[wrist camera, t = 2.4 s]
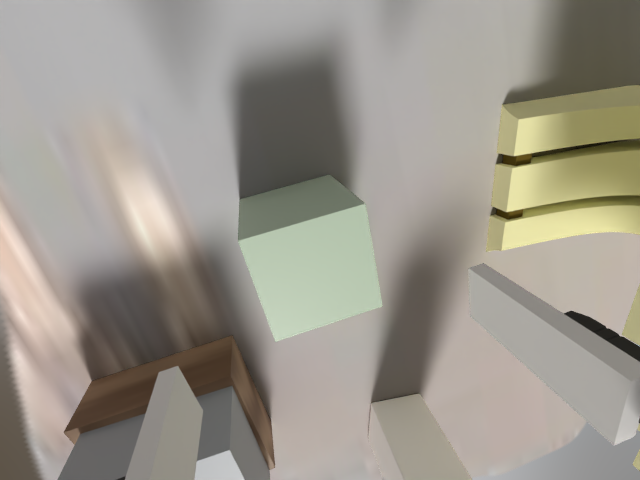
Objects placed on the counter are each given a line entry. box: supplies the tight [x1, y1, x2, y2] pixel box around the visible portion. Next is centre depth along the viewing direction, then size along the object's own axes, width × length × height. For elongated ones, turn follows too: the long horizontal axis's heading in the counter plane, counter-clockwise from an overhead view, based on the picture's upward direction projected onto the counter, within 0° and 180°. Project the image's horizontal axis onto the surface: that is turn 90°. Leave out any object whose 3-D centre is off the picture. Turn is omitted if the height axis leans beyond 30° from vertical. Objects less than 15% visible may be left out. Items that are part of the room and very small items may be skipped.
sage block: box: [238, 174, 382, 342], centre depth 22 cm, size 7×7×8 cm
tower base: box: [64, 336, 275, 470], centre depth 28 cm, size 12×12×5 cm
